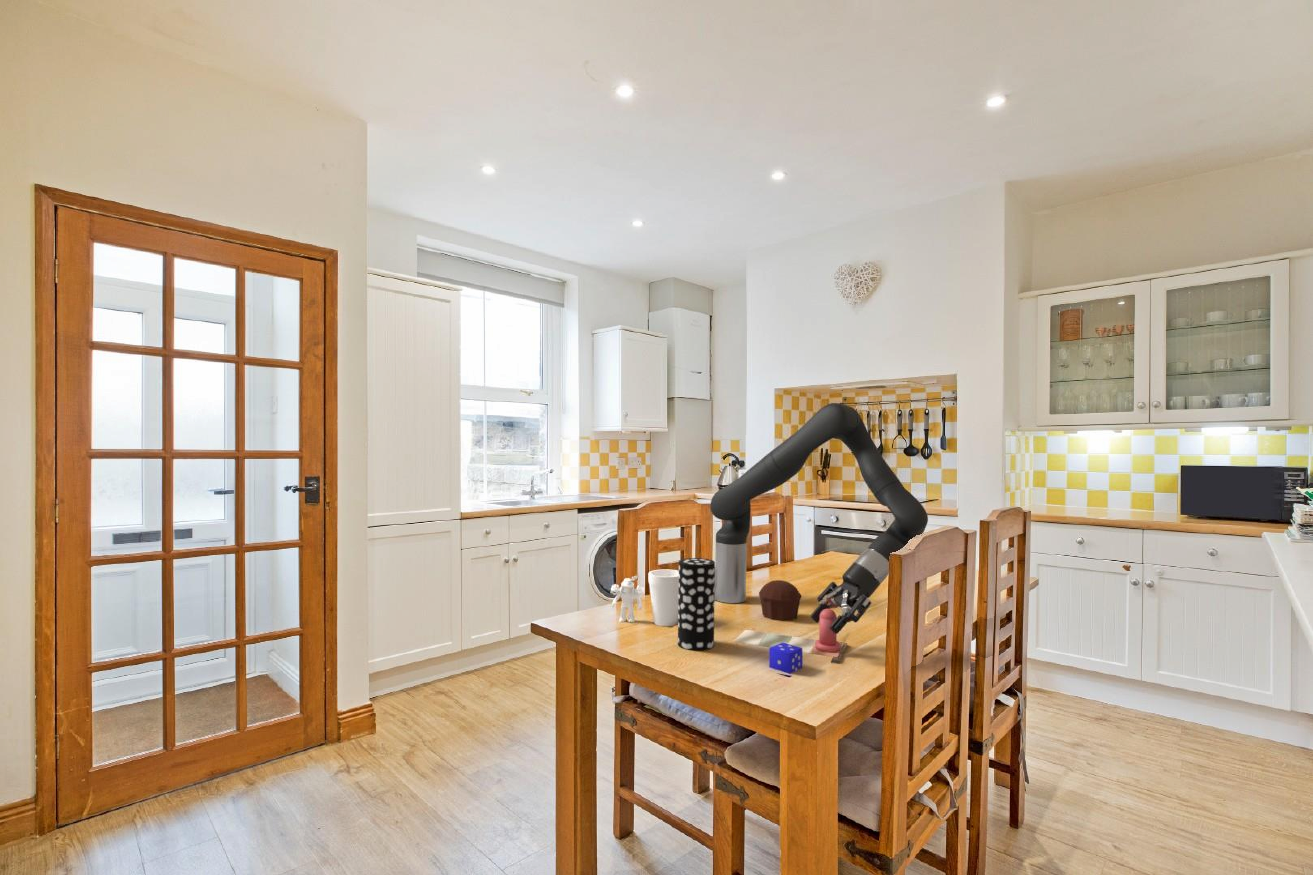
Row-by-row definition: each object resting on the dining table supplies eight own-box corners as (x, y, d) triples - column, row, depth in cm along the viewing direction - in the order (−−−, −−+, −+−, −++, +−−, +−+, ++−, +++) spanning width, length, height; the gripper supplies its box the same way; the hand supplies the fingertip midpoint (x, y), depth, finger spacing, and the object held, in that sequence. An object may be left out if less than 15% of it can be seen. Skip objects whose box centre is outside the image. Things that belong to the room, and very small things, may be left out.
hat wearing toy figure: (644, 619, 168) (645, 574, 168) (642, 623, 164) (642, 577, 164) (611, 617, 170) (612, 572, 169) (608, 621, 166) (608, 575, 166)
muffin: (751, 614, 174) (751, 578, 174) (787, 611, 177) (788, 575, 177) (771, 626, 163) (771, 588, 163) (809, 623, 166) (809, 585, 166)
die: (768, 671, 132) (769, 647, 132) (782, 665, 136) (782, 642, 136) (789, 677, 129) (789, 653, 129) (802, 671, 132) (802, 647, 132)
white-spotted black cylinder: (717, 653, 143) (719, 564, 142) (681, 655, 141) (682, 565, 141) (708, 641, 151) (709, 557, 151) (674, 642, 149) (675, 558, 149)
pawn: (813, 650, 143) (813, 610, 143) (817, 642, 148) (817, 604, 148) (838, 654, 141) (839, 613, 141) (842, 646, 146) (842, 607, 146)
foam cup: (642, 625, 163) (643, 574, 163) (655, 615, 171) (656, 568, 171) (677, 629, 159) (677, 578, 159) (688, 620, 168) (689, 571, 168)
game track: (728, 646, 147) (728, 642, 147) (744, 630, 159) (744, 627, 159) (839, 663, 137) (839, 659, 137) (847, 645, 149) (847, 642, 149)
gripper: (840, 556, 153) (797, 606, 150) (875, 568, 140) (829, 623, 137) (859, 576, 155) (816, 626, 152) (896, 590, 141) (850, 646, 138)
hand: (822, 625), depth 144 cm, fingers open, 8 cm apart
